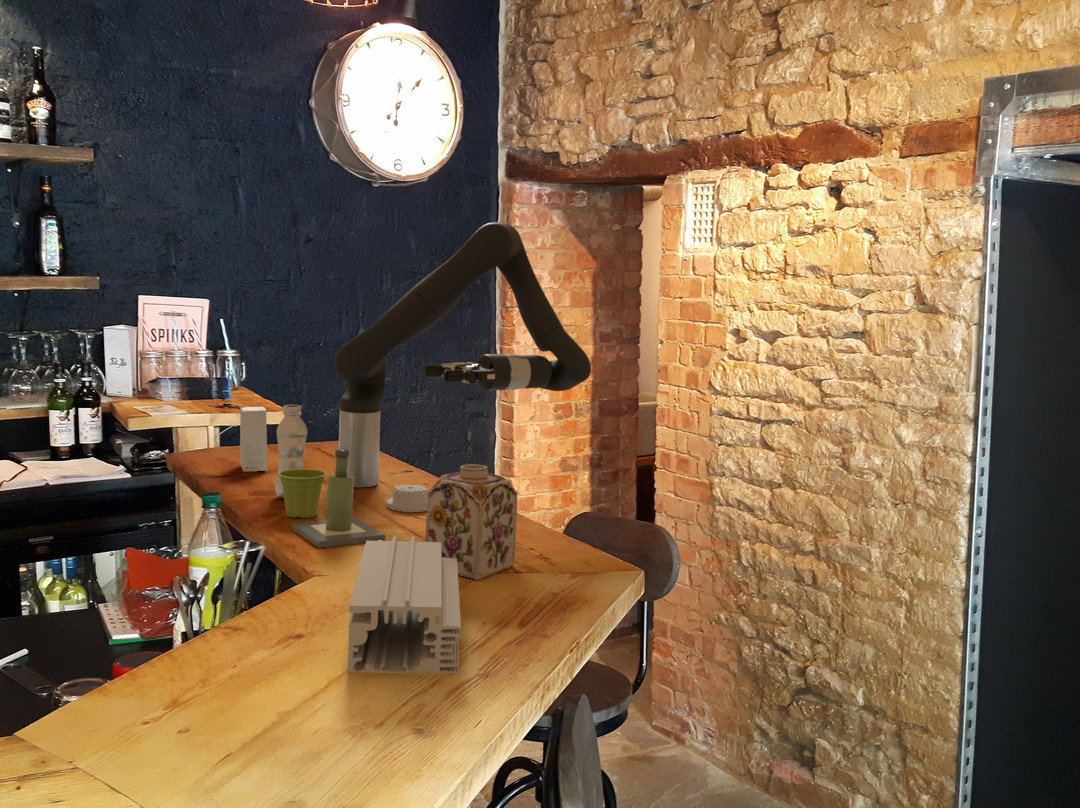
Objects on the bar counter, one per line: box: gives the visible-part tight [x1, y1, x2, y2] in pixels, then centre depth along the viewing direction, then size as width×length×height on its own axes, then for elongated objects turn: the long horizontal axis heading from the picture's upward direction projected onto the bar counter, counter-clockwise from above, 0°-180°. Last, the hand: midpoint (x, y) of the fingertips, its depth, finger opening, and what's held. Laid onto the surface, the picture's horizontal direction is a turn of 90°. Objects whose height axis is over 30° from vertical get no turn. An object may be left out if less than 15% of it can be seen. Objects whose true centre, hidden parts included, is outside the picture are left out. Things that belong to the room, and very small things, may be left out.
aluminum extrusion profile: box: [347, 535, 462, 674], centre depth 149 cm, size 14×31×10 cm, turn 6°
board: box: [291, 516, 386, 549], centre depth 198 cm, size 14×13×1 cm
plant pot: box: [278, 468, 327, 519], centre depth 211 cm, size 9×9×9 cm
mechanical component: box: [386, 484, 430, 513], centre depth 223 cm, size 10×4×10 cm
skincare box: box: [239, 406, 268, 473], centre depth 252 cm, size 8×6×15 cm
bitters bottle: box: [325, 448, 355, 531], centre depth 197 cm, size 5×5×15 cm
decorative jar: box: [424, 463, 518, 581], centre depth 180 cm, size 12×12×18 cm
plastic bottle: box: [274, 404, 308, 499], centre depth 224 cm, size 6×7×20 cm
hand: (434, 373), depth 209 cm, fingers open, 8 cm apart
